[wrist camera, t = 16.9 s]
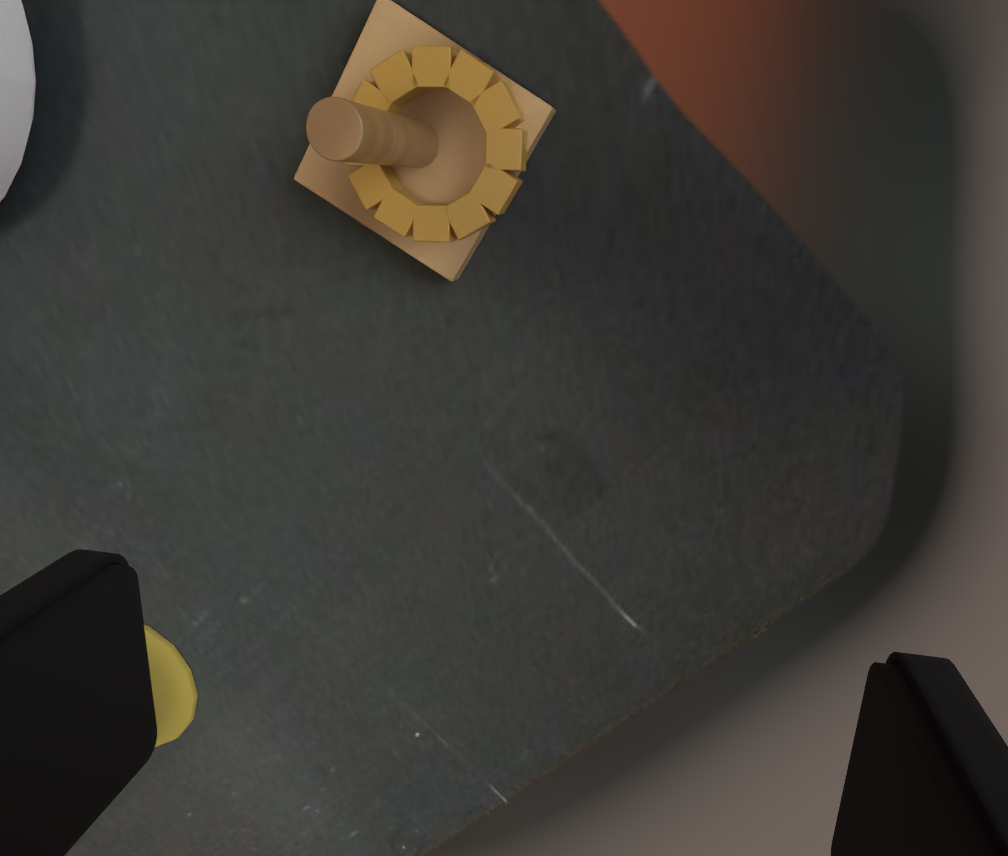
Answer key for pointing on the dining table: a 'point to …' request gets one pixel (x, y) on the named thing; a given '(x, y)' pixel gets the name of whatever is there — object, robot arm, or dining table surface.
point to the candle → (169, 687)
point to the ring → (503, 144)
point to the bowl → (14, 89)
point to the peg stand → (406, 138)
